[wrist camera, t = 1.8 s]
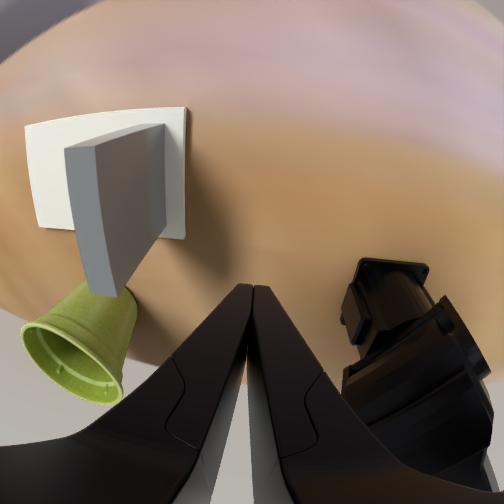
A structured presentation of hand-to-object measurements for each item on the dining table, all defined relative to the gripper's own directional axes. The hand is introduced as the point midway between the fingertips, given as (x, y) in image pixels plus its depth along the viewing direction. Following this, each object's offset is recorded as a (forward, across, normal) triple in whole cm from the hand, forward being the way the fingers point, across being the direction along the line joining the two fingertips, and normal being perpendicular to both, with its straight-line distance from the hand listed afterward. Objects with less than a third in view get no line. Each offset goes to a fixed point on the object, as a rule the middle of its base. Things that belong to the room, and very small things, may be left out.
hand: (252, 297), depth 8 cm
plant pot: (+12, +13, +12) cm, 21 cm away
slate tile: (+11, +7, 0) cm, 13 cm away
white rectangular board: (+12, +12, 0) cm, 17 cm away
